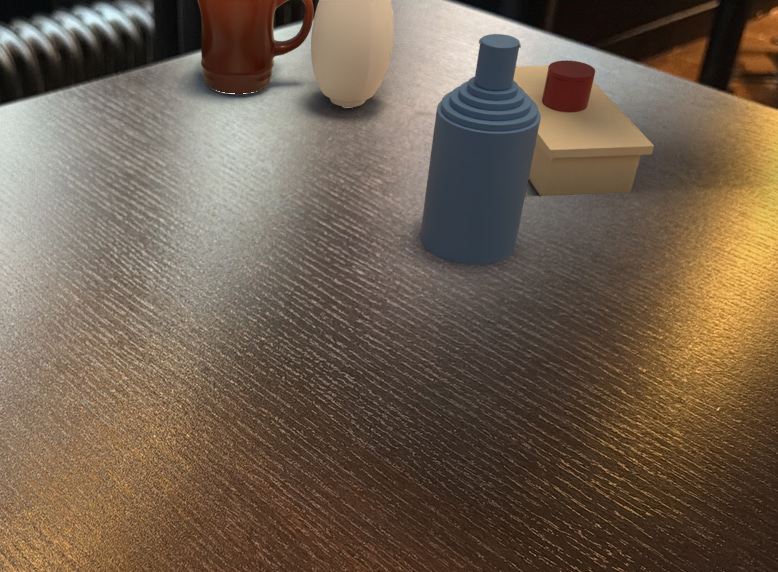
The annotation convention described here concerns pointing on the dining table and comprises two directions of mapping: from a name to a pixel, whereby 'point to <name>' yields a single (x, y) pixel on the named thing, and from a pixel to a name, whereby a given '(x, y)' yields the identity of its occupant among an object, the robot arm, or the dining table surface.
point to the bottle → (480, 161)
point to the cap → (568, 86)
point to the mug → (243, 42)
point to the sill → (582, 143)
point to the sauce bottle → (351, 48)
